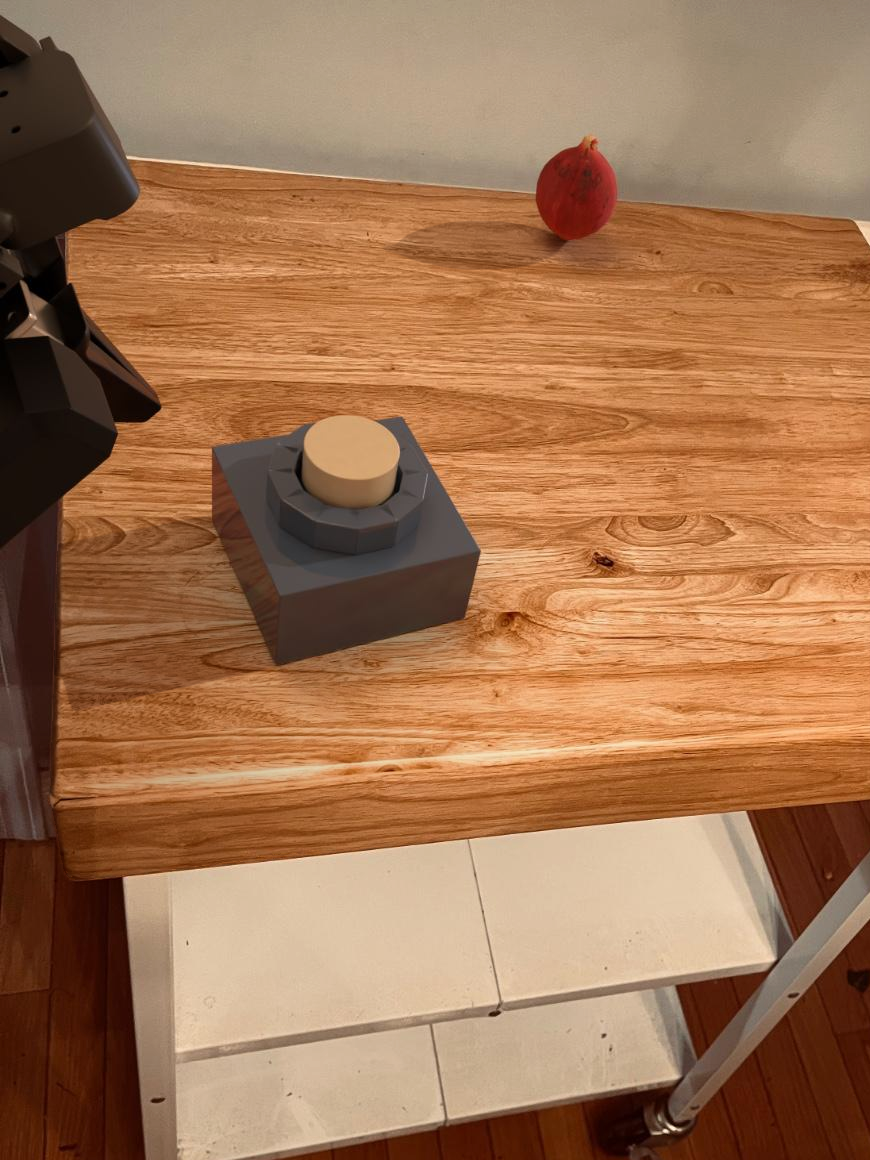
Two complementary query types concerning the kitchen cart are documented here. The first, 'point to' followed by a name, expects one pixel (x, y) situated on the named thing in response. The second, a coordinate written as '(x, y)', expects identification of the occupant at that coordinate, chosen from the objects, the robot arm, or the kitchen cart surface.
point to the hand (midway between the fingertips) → (152, 409)
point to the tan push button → (349, 462)
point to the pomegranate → (577, 191)
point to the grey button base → (339, 549)
